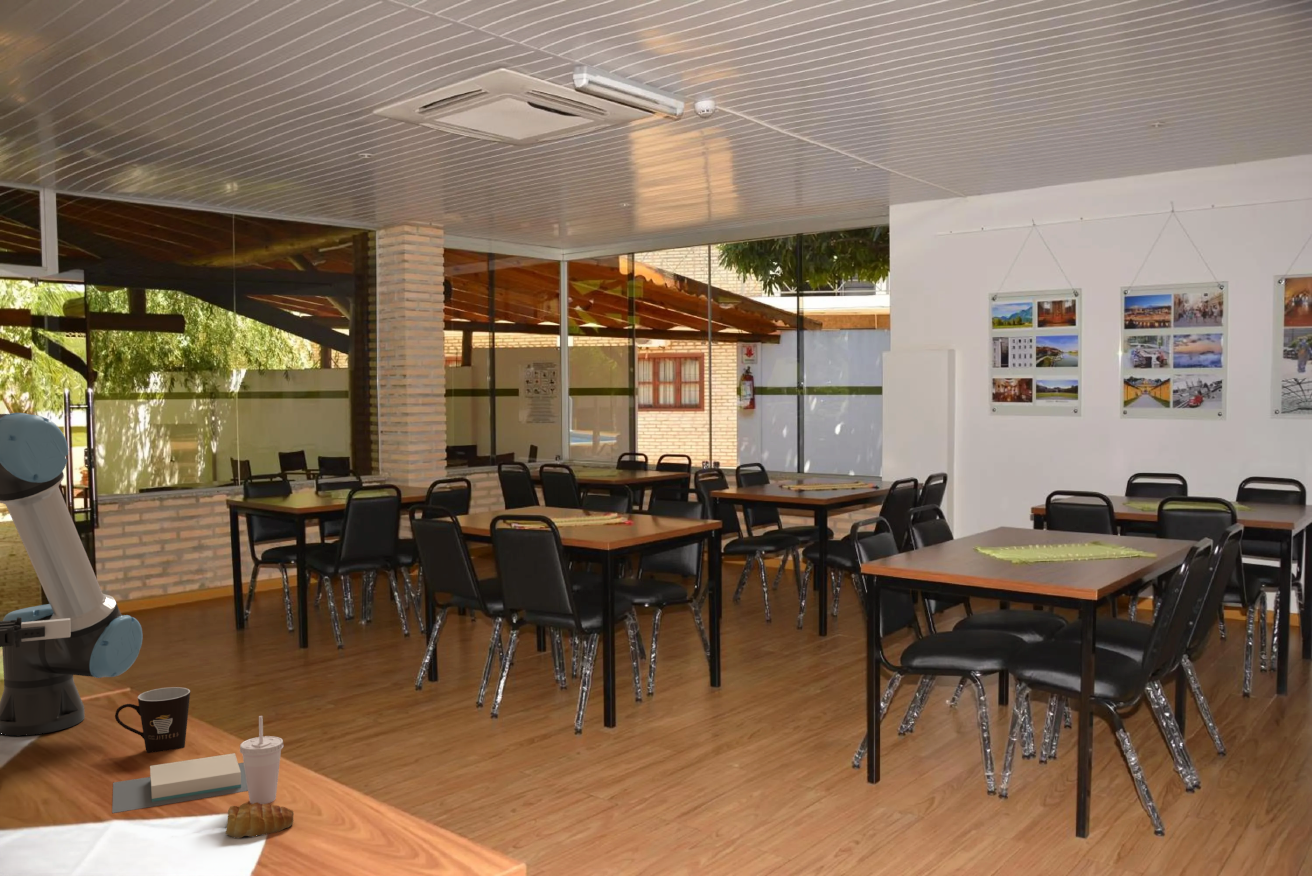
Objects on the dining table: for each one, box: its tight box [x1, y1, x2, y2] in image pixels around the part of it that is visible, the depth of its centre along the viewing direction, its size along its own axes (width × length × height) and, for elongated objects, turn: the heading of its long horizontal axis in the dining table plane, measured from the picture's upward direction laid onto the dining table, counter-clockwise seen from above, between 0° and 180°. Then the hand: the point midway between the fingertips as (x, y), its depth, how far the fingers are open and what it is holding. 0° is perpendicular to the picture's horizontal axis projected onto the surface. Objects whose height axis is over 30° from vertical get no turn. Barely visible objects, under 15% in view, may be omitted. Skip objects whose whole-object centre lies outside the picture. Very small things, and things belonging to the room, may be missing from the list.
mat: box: [111, 762, 248, 814], centre depth 169 cm, size 14×20×1 cm
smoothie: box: [239, 715, 284, 805], centre depth 163 cm, size 6×6×14 cm
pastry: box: [224, 802, 295, 839], centre depth 154 cm, size 9×7×4 cm
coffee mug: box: [114, 686, 191, 754], centre depth 188 cm, size 12×9×10 cm
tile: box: [149, 752, 241, 802], centre depth 169 cm, size 10×2×13 cm
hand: (70, 627), depth 163 cm, fingers closed
